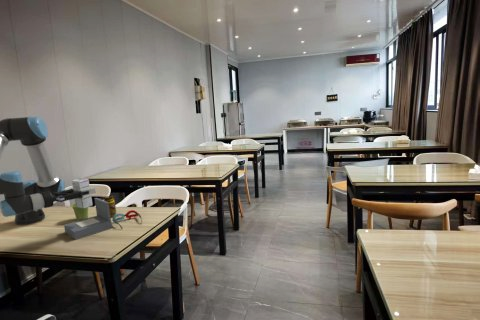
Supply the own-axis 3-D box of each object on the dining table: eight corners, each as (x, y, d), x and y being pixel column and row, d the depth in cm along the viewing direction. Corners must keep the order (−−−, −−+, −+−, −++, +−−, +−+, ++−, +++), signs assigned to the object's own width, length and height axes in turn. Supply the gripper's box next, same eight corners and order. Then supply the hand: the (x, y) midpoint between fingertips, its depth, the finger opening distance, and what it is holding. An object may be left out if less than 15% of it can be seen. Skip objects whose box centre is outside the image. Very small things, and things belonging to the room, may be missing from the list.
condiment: (118, 216, 181) (115, 196, 179) (103, 220, 176) (100, 200, 174) (115, 213, 187) (113, 194, 185) (100, 217, 182) (97, 197, 180)
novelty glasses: (137, 217, 179) (136, 208, 178) (145, 223, 166) (144, 215, 166) (112, 223, 171) (111, 214, 170) (118, 230, 159) (117, 221, 158)
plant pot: (94, 216, 184) (92, 202, 183) (80, 221, 176) (78, 207, 174) (84, 214, 188) (82, 201, 187) (70, 220, 180) (67, 205, 179)
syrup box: (93, 205, 161) (89, 178, 158) (83, 208, 156) (78, 180, 153) (85, 204, 163) (81, 177, 161) (75, 208, 158) (71, 180, 156)
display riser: (65, 232, 161) (60, 206, 159) (100, 221, 174) (96, 197, 171) (75, 239, 150) (70, 212, 148) (112, 228, 162) (108, 202, 160)
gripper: (38, 204, 153) (86, 193, 169) (49, 212, 139) (100, 199, 155) (35, 190, 152) (84, 180, 168) (46, 196, 138) (98, 184, 154)
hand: (92, 189), depth 162 cm, fingers closed on syrup box, 7 cm apart
